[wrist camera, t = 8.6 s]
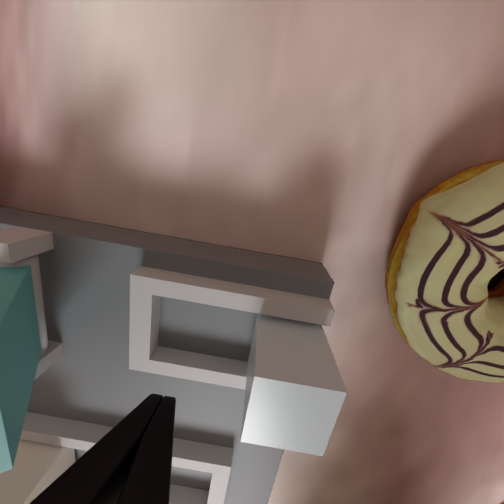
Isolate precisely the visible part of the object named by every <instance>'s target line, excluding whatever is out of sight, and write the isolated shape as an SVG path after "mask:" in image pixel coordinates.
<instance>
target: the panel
mask: <svg viewBox="0 0 504 504" xmlns="http://www.w3.org/2000/svg"><path fill="white" fill-rule="evenodd" d="M37 254H38V257H39V266H40V275H41V283H42V292H43V301H44V310H45V318H46V327H47V336H48V345H49V346H48V349H47V350H46V351H45V352H44V353H43V354H41V355H40V359H39V363H38V367H37V371H36V375H35V379H34V383H33V387H32V392H31V396H30V400H29V404H28V408H27V412H26V416H25V420H24V425H23V429H22V433H21V437H20V439H22V440H27V441H33V442H39V443H44V444H50V445H56V446H61V447H67V448H73V449H74V450H75V461H77V460H78V459H79V458H80V457H81V456H82V455H84V454H85V453H86V452H87V451H88V450H89V449H90V448H91V447H92V446H93V445H95V444H96V443H97V442H98V441H99V440H100V439H101V438H102V437H103V436H105V435H106V434H107V433H108V432H109V431H110V430H111V429H112V428H113V427H115V426H116V425H117V424H118V423H119V422H120V421H121V420H122V419H123V418H125V417H126V416H127V415H128V414H129V413H130V412H131V411H132V410H133V409H134V408H136V407H137V406H138V405H139V404H140V403H141V402H142V401H143V400H144V399H146V398H147V397H148V396H149V395H150V394H153V393H154V394H160V395H163V397H164V396H171V397H175V398H176V408H175V423H174V438H173V454H172V469H171V484H170V500H169V504H268V501H269V497H270V494H271V491H272V487H273V484H274V481H275V477H276V474H277V471H278V467H279V464H280V461H281V457H282V454H283V451H284V449H278V448H273V447H267V446H261V445H256V444H250V443H245V442H240V440H241V429H242V419H243V408H244V398H245V387H246V377H247V366H248V358H249V353H250V348H251V343H252V338H253V333H254V328H255V323H256V318H257V313H258V314H263V315H269V316H275V317H280V318H286V319H292V320H297V321H303V322H309V323H314V324H320V325H325V326H330V325H331V321H332V318H333V315H334V312H335V310H334V308H333V306H332V304H331V302H330V300H329V298H330V295H331V291H332V288H333V285H334V281H333V280H332V278H331V277H330V275H329V273H328V272H327V270H326V269H325V267H324V266H323V264H322V263H316V262H311V261H305V260H300V259H294V258H288V257H283V256H277V255H271V254H266V253H260V252H254V251H249V250H243V249H237V248H232V247H226V246H220V245H215V244H209V243H203V242H198V241H192V240H187V239H181V238H175V237H170V236H164V235H158V234H153V233H147V232H141V231H136V230H130V229H124V228H119V227H113V226H107V225H102V224H96V223H90V222H85V221H79V220H74V219H68V218H62V217H57V216H51V215H45V214H40V213H34V212H28V211H23V210H17V209H11V208H6V207H0V262H6V263H13V262H16V261H19V260H22V259H25V258H28V257H31V256H34V255H37Z"/></svg>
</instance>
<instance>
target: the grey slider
mask: <svg viewBox="0 0 504 504" xmlns="http://www.w3.org/2000/svg"><path fill="white" fill-rule="evenodd" d="M346 394H347V392H346V389H345V386H344V384H343V381H342V378H341V376H340V373H339V370H338V368H337V365H336V362H335V360H334V357H333V354H332V352H331V349H330V346H329V344H328V341H327V338H326V336H325V333H324V330H323V328H322V325H320V324H314V323H309V322H303V321H297V320H292V319H286V318H280V317H275V316H269V315H263V314H258V313H257V318H256V323H255V328H254V333H253V338H252V343H251V348H250V353H249V358H248V366H247V377H246V387H245V398H244V408H243V419H242V429H241V440H240V442H245V443H250V444H256V445H261V446H267V447H273V448H278V449H284V450H290V451H295V452H301V453H307V454H312V455H318V456H323V455H324V452H325V450H326V447H327V444H328V442H329V439H330V436H331V434H332V431H333V428H334V426H335V423H336V421H337V418H338V415H339V413H340V410H341V407H342V405H343V402H344V399H345V397H346Z"/></svg>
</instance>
